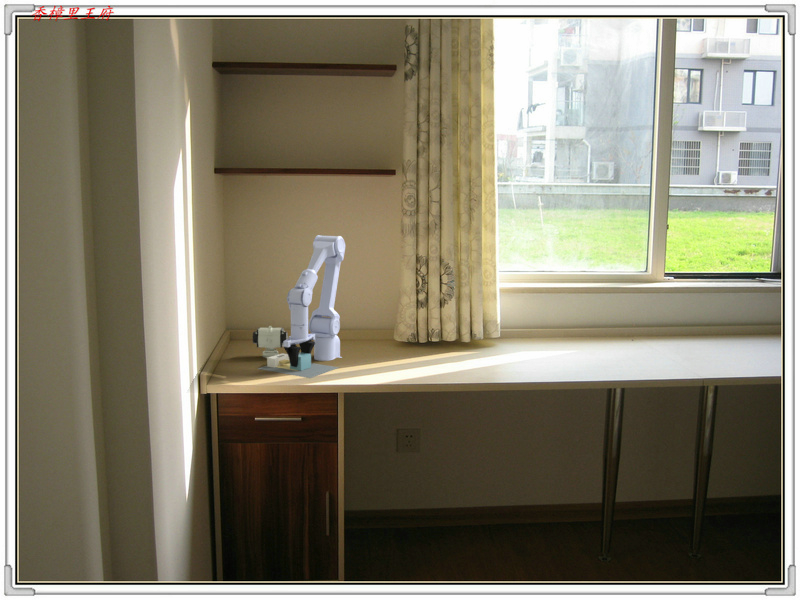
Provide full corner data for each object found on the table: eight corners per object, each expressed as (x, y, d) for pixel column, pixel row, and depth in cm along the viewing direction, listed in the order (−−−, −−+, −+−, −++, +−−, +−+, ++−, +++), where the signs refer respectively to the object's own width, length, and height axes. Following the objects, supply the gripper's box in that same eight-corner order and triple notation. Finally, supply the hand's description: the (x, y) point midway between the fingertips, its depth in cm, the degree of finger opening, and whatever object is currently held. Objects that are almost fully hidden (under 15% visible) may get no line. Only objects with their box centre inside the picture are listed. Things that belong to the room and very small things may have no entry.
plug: (300, 365, 235) (300, 352, 234) (311, 367, 232) (311, 353, 232) (289, 368, 230) (289, 355, 229) (301, 370, 228) (301, 357, 227)
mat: (287, 361, 244) (287, 358, 244) (339, 369, 233) (339, 367, 233) (257, 370, 230) (257, 368, 230) (310, 380, 219) (310, 377, 219)
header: (282, 361, 240) (282, 352, 239) (296, 364, 237) (296, 355, 236) (267, 366, 233) (267, 357, 232) (281, 368, 230) (281, 359, 230)
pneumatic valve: (255, 357, 249) (254, 324, 247) (287, 357, 249) (287, 324, 248) (252, 361, 243) (251, 327, 242) (286, 361, 244) (285, 327, 242)
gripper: (303, 319, 237) (303, 358, 239) (275, 326, 225) (276, 367, 227) (320, 321, 234) (320, 361, 236) (293, 328, 221) (293, 370, 223)
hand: (299, 364), depth 231 cm, fingers closed on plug, 5 cm apart
